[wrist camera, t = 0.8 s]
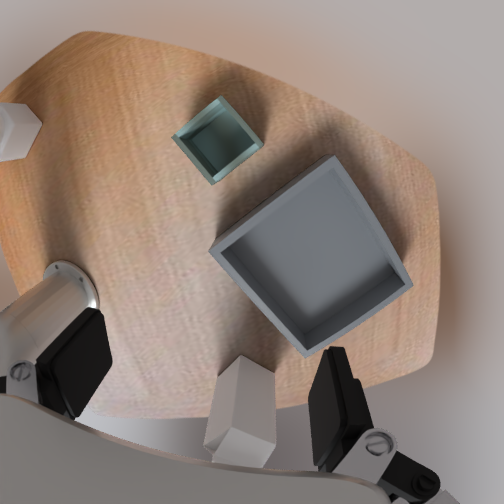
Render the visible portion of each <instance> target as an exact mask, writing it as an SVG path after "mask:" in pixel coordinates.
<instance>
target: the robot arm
mask: <svg viewBox="0 0 504 504" xmlns="http://www.w3.org/2000/svg"><path fill="white" fill-rule="evenodd" d="M111 366H112V355H111V351H110V346H109V341H108V336H107V331H106V326H105V320H104V315H103V314H102V313H101V311H100V310H99V301H98V296H97V293H96V290H95V288H94V286H93V284H92V282H91V280H90V279H89V278H88V276H87V275H86V274H85V273H84V272H83V271H82V270H81V269H80V268H79V267H77V266H76V265H75V264H73V263H71V262H68V261H63V260H59V261H55V262H54V263H52V264H50V265H49V266H48V267H47V268H46V270H45V272H44V275H43V281H41V282H40V283H39V284H37V285H36V286H34V287H33V288H32V289H30V290H29V291H27V292H26V293H25V294H23V295H22V296H21V297H19V298H18V299H17V300H15V301H14V302H13V303H11V304H10V305H9V306H8V307H6V308H5V309H4V310H2V311H1V312H0V504H460V503H459V502H458V501H457V500H456V499H455V498H454V497H453V496H451V495H450V493H448V492H447V491H446V490H445V491H442V490H441V489H440V479H439V477H438V475H437V474H436V473H435V472H433V471H432V470H430V469H428V468H426V467H425V466H423V465H421V464H419V463H417V462H415V461H413V460H412V459H410V458H408V457H407V456H405V455H403V454H401V453H400V452H398V451H396V450H397V441H396V438H395V437H394V436H393V435H392V434H391V433H390V432H388V431H387V430H384V429H380V428H374V426H373V423H372V419H371V416H370V412H369V409H368V405H367V402H366V398H365V395H364V392H363V388H362V385H361V382H360V380H359V379H354V378H353V375H352V372H351V368H350V365H349V361H348V358H347V355H346V352H345V349H344V347H334V346H330V347H329V349H328V350H326V349H325V350H324V352H323V355H322V358H321V361H320V364H319V367H318V370H317V373H316V375H315V378H314V381H313V384H312V387H311V390H310V392H309V396H308V405H309V414H310V425H311V437H312V449H313V462H314V465H315V466H318V469H319V470H318V471H319V472H314V471H294V470H293V471H292V470H275V469H264V468H254V467H244V466H236V465H229V464H222V463H216V462H210V461H204V460H199V459H194V458H189V457H184V456H180V455H176V454H172V453H167V452H163V451H160V450H156V449H152V448H149V447H145V446H142V445H139V444H135V443H132V442H129V441H126V440H123V439H120V438H117V437H115V436H112V435H109V434H106V433H104V432H101V431H98V430H96V429H93V428H91V427H88V426H86V425H84V424H81V423H79V422H77V421H74V420H75V418H76V417H79V416H80V415H81V413H82V412H83V410H84V408H85V407H86V405H87V404H88V402H89V400H90V399H91V397H92V396H93V394H94V392H95V391H96V389H97V388H98V386H99V385H100V383H101V382H102V380H103V379H104V377H105V375H106V374H107V372H108V371H109V369H110V368H111Z"/></svg>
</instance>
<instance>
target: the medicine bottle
mask: <svg viewBox="0 0 504 504" xmlns="http://www.w3.org/2000/svg"><path fill="white" fill-rule="evenodd" d="M41 126H42V122H41V121H40V120H39V119H38V118H37V116H36V115H35V114H34V113H33V112H32V111H31V110H30V108H29V107H28V106H27V105H26V104H17V103H0V162H3V161H10V160H16V159H23V158H26V156H27V154H28V152H29V150H30V148H31V146H32V144H33V142H34V140H35V138H36V136H37V134H38V132H39V130H40V128H41Z"/></svg>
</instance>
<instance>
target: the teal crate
mask: <svg viewBox="0 0 504 504" xmlns="http://www.w3.org/2000/svg"><path fill="white" fill-rule="evenodd" d="M171 138H172V139H173V140H174V141H175V142H176V144H177V145H178V146H179V147H180V148H181V150H182V151H183V152H184V153H185V154H186V155H187V157H188V158H189V159H190V160H191V161H192V163H193V164H194V165H195V166H196V167H197V169H198V170H199V171H200V172H201V173H202V175H203V176H204V177H205V178H206V179H207V180H208V182H209V183H210V184H211V185H213V184H215V183H217V182H219V181H220V180H221V179H223V178H224V177H225V176H226V175H228V174H229V173H230V172H231V171H233V170H234V169H235V168H236V167H237V166H239V165H240V164H241V163H243V162H244V161H245V160H246V159H248V158H249V157H250V156H251V155H253V154H254V153H255V152H257V151H258V150H259V149H260V148H262V147H263V146H264V144H263V143H262V141H261V140H260V139H259V138H258V137H257V135H256V134H255V133H254V132H253V131H252V129H251V128H250V127H249V126H248V125H247V124H246V122H245V121H244V120H243V119H242V118H241V117H240V115H239V114H238V113H237V112H236V111H235V110H234V109H233V107H232V106H231V105H230V104H229V103H228V102H227V101H226V100H225V98H224V97H223V96H222V95H221V96H219V97H218V98H217V99H216V100H214V101H213V102H212V103H211V104H209V105H208V106H207V107H206V108H204V109H203V110H202V111H201V112H200V113H198V114H197V115H196V116H195V117H194V118H193V119H191V120H190V121H189V122H188V123H187V124H186V125H185V126H183V127H182V128H181V129H180V130H179V131H178V132H177V133H176V134H174V135H173V136H172V137H171Z"/></svg>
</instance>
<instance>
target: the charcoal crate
mask: <svg viewBox="0 0 504 504" xmlns="http://www.w3.org/2000/svg"><path fill="white" fill-rule="evenodd" d="M208 252H209V253H210V254H211V255H212V256H213V257H214V259H215V260H216V261H217V262H218V263H219V264H220V265H221V267H222V268H223V269H224V270H225V271H226V272H227V273H228V274H229V276H230V277H231V278H232V279H233V280H234V281H235V282H236V283H237V285H238V286H239V287H240V288H241V289H242V290H243V291H244V292H245V294H246V295H247V296H248V297H249V298H250V299H251V300H252V301H253V302H254V304H255V305H256V306H257V307H258V308H259V309H260V310H261V311H262V312H263V313H264V315H265V316H266V317H267V318H268V319H269V320H270V321H271V322H272V323H273V324H274V325H275V327H276V328H277V329H278V330H279V331H280V332H281V333H282V334H283V335H284V336H285V337H286V338H287V340H288V341H289V342H290V343H291V344H292V345H293V346H294V347H295V348H296V349H297V350H298V351H299V352H300V353H301V354H302V356H303V357H304V358H307V357H308V356H310V355H312V354H314V353H315V352H317V351H319V350H320V349H322V348H324V347H325V346H327V345H328V344H330V343H332V342H333V341H335V340H336V339H338V338H340V337H341V336H343V335H344V334H346V333H347V332H349V331H350V330H352V329H354V328H355V327H357V326H358V325H360V324H361V323H362V322H364V321H365V320H367V319H368V318H370V317H371V316H373V315H374V314H376V313H377V312H378V311H380V310H381V309H383V308H384V307H385V306H387V305H388V304H390V303H391V302H392V301H394V300H395V299H396V298H398V297H399V296H400V295H402V294H403V293H404V292H406V291H407V290H408V289H410V288H411V287H412V286H413V283H412V281H411V279H410V277H409V275H408V273H407V271H406V269H405V267H404V265H403V263H402V262H401V260H400V258H399V256H398V254H397V252H396V251H395V249H394V247H393V245H392V243H391V242H390V240H389V238H388V236H387V235H386V233H385V231H384V230H383V228H382V226H381V224H380V223H379V221H378V219H377V218H376V216H375V215H374V213H373V211H372V210H371V208H370V207H369V205H368V203H367V202H366V200H365V199H364V197H363V196H362V194H361V192H360V191H359V189H358V188H357V186H356V185H355V183H354V182H353V180H352V179H351V177H350V176H349V175H348V173H347V172H346V170H345V169H344V167H343V166H342V164H341V163H340V162H339V160H338V159H337V157H336V156H335V155H325V156H323V157H322V158H320V159H319V160H318V161H316V162H315V163H314V164H312V165H311V166H310V167H308V168H307V169H306V170H304V171H303V172H302V173H300V174H299V175H298V176H296V177H295V178H294V179H292V180H291V181H290V182H288V183H287V184H286V185H284V186H283V187H282V188H280V189H279V190H278V191H276V192H275V193H274V194H272V195H271V196H270V197H269V198H267V199H266V200H265V201H263V202H262V203H261V204H259V205H258V206H257V207H256V208H254V209H253V210H252V211H250V212H249V213H248V214H247V215H245V216H244V217H243V218H241V219H240V220H239V221H238V222H236V223H235V224H234V225H232V226H231V227H230V228H229V229H227V230H226V231H225V232H224V233H222V234H221V235H220V236H219V237H217V238H216V239H215V241H214V242H213V244H212V246H211V248H210V249H209V251H208Z"/></svg>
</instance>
